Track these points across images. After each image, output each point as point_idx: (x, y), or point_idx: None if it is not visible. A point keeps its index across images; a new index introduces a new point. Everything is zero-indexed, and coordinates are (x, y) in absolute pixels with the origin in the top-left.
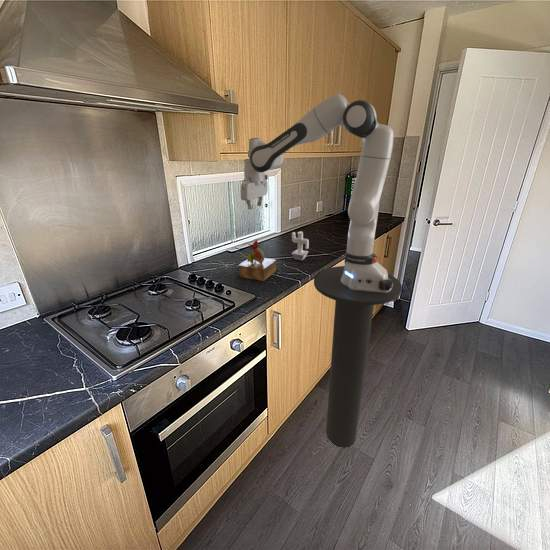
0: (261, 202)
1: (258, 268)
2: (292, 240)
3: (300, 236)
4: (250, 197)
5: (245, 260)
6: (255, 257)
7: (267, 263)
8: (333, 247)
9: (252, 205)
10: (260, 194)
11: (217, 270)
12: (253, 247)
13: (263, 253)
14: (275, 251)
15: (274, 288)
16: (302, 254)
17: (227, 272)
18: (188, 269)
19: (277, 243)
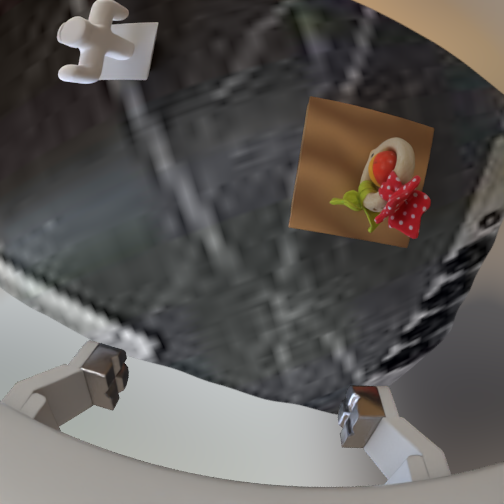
0: (80, 364)
1: (429, 152)
2: (97, 78)
3: (93, 27)
4: (496, 491)
5: (351, 237)
6: (376, 188)
7: (369, 126)
8: (14, 12)
9: (358, 414)
10: (88, 480)
11: (343, 322)
12: (410, 204)
13: (405, 142)
14: (87, 186)
15: (450, 83)
16: (149, 30)
17: (357, 285)
18: (344, 394)
19: (18, 214)
